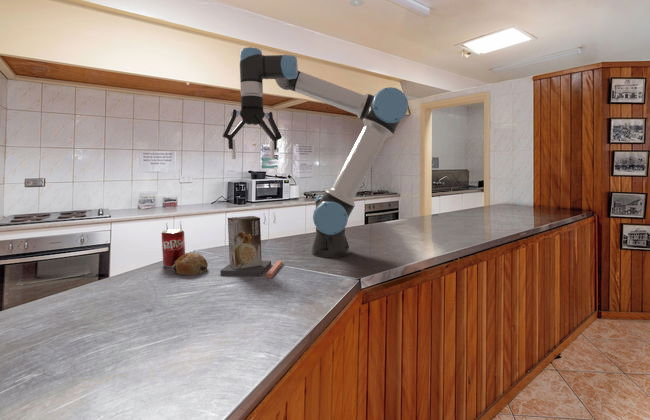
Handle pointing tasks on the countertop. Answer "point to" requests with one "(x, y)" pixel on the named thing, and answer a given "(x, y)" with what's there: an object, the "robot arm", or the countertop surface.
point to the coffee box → (244, 242)
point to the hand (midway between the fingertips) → (253, 159)
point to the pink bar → (273, 269)
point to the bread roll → (190, 264)
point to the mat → (246, 270)
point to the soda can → (172, 246)
